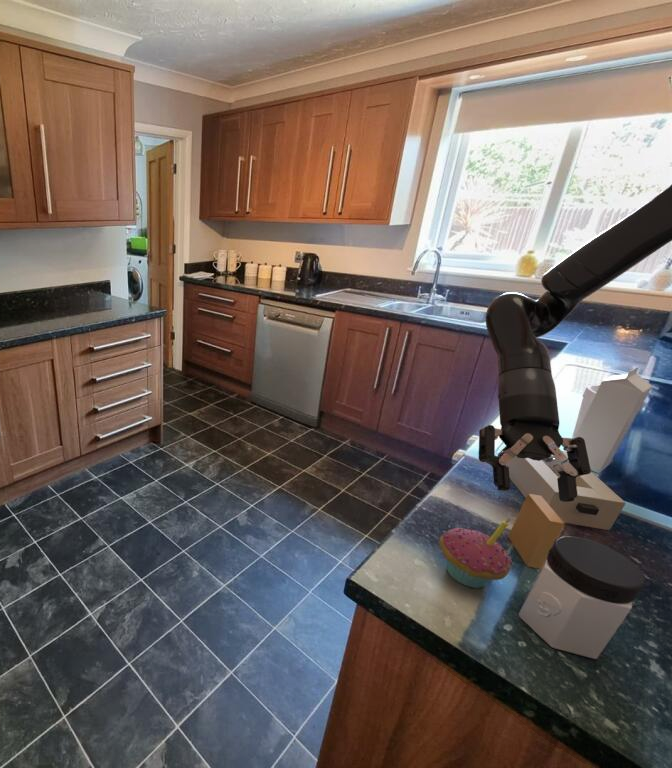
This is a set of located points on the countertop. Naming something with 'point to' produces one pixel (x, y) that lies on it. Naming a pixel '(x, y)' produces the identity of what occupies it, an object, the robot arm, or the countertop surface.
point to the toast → (535, 530)
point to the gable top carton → (587, 405)
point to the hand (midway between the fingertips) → (535, 495)
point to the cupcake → (475, 556)
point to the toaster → (587, 509)
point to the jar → (581, 595)
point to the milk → (611, 416)
